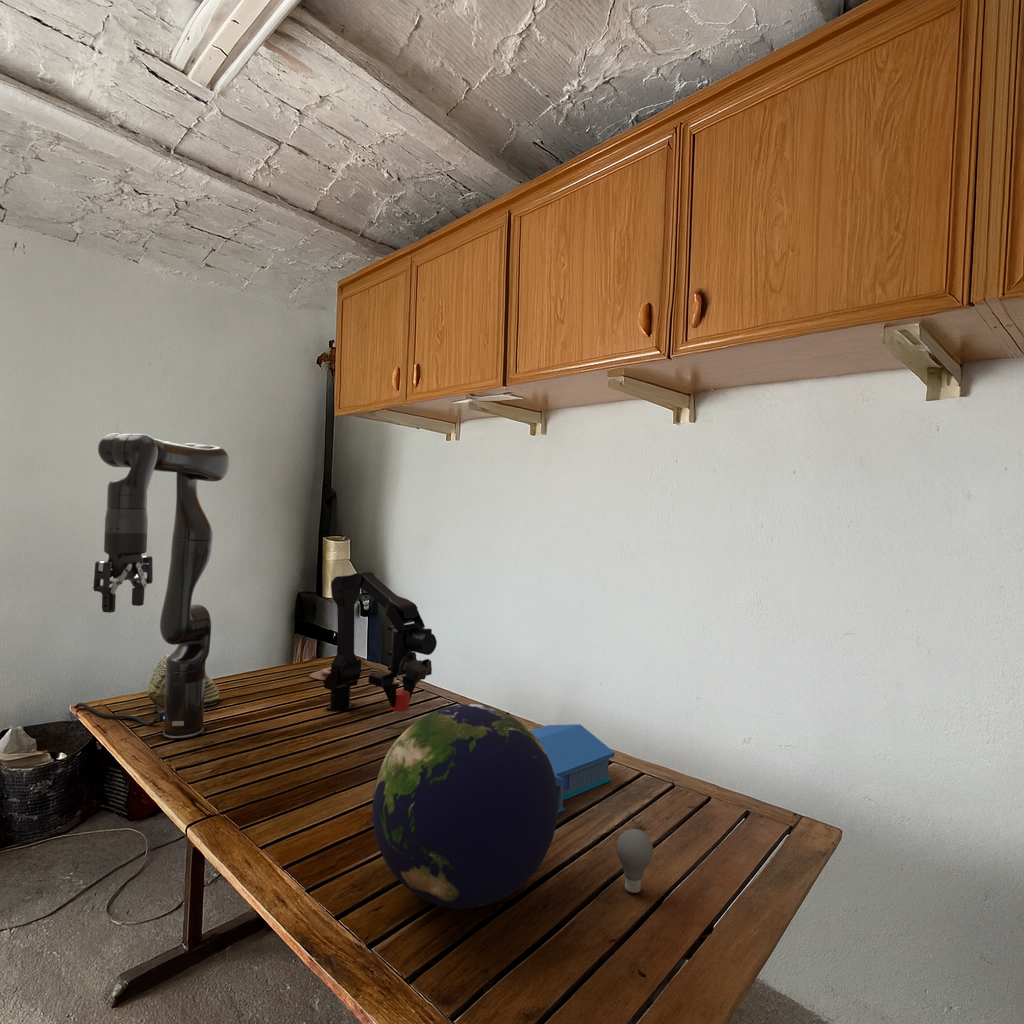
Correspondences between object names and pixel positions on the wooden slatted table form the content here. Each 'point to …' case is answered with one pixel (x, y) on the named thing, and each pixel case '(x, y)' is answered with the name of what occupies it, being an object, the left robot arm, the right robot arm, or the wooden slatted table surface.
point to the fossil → (158, 687)
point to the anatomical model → (321, 674)
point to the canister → (401, 700)
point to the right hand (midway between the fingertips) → (399, 704)
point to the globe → (465, 806)
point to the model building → (574, 758)
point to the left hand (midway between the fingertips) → (123, 608)
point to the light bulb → (634, 857)
